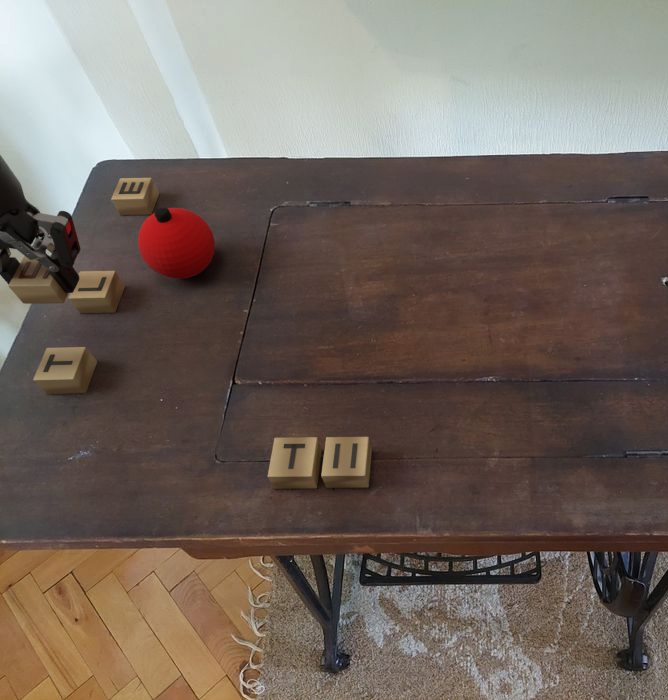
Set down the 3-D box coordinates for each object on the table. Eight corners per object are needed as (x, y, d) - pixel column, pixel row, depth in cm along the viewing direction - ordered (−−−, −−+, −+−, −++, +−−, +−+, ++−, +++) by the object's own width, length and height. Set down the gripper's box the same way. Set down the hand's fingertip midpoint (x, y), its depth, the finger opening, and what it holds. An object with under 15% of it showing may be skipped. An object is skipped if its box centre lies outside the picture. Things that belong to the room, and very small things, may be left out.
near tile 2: (274, 488, 68) (267, 476, 66) (281, 450, 71) (274, 437, 69) (317, 488, 68) (311, 476, 66) (322, 449, 71) (317, 436, 69)
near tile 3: (326, 488, 68) (320, 475, 66) (330, 449, 71) (325, 436, 69) (368, 487, 68) (365, 475, 66) (372, 449, 71) (368, 435, 69)
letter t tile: (85, 393, 75) (72, 378, 73) (46, 394, 75) (32, 379, 73) (97, 361, 78) (85, 346, 75) (59, 362, 78) (46, 347, 75)
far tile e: (151, 214, 93) (143, 198, 90) (120, 215, 93) (110, 198, 90) (159, 193, 95) (151, 176, 93) (128, 194, 95) (119, 177, 93)
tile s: (64, 303, 72) (49, 285, 69) (23, 304, 72) (7, 285, 69) (78, 273, 74) (64, 254, 72) (38, 273, 74) (23, 254, 72)
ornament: (154, 299, 84) (120, 243, 76) (154, 250, 89) (123, 193, 81) (225, 285, 85) (200, 229, 77) (222, 238, 90) (198, 180, 82)
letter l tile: (115, 312, 82) (104, 297, 80) (79, 313, 82) (67, 297, 80) (125, 286, 85) (115, 270, 82) (90, 286, 85) (79, 270, 82)
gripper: (-151, 191, 57) (-29, 314, 70) (13, 190, 57) (103, 313, 70) (-108, 137, 61) (-1, 263, 75) (45, 136, 61) (124, 262, 75)
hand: (49, 286), depth 73 cm, fingers closed on tile s, 4 cm apart
